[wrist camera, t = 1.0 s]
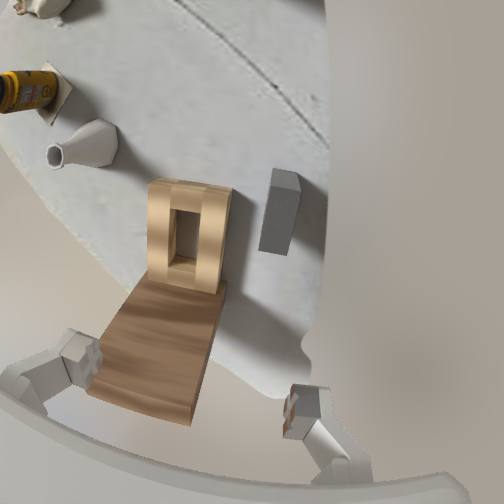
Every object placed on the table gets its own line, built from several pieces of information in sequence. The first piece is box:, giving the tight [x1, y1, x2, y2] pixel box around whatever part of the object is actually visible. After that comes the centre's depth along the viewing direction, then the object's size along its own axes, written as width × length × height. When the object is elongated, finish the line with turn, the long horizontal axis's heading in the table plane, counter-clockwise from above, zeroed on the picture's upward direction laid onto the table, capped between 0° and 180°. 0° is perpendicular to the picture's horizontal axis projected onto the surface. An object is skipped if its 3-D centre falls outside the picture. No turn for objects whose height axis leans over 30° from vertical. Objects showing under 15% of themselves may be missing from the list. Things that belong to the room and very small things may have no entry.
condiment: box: [0, 61, 73, 126], centre depth 27 cm, size 7×8×12 cm
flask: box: [45, 118, 119, 170], centre depth 32 cm, size 7×7×10 cm
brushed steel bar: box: [258, 168, 302, 256], centre depth 34 cm, size 7×3×9 cm, turn 171°
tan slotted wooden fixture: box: [85, 177, 233, 426], centre depth 32 cm, size 18×12×22 cm, turn 171°
